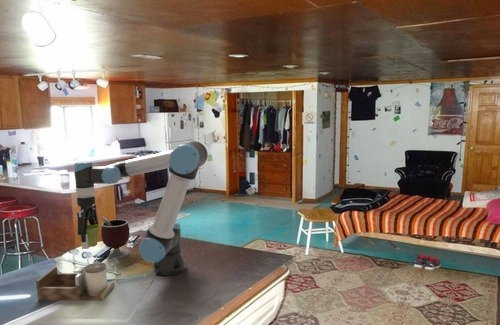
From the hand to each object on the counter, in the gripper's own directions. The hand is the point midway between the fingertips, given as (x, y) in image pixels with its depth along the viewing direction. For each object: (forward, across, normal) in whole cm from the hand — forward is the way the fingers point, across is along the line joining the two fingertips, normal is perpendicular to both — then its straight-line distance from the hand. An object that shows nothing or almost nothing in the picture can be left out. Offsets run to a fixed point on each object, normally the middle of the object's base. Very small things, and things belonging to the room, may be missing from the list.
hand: (89, 244), depth 180 cm
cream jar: (+14, +17, +10) cm, 24 cm away
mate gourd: (+15, -27, 0) cm, 31 cm away
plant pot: (0, 0, 0) cm, 0 cm away
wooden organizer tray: (+15, +17, +2) cm, 23 cm away
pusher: (+14, +17, +3) cm, 22 cm away
